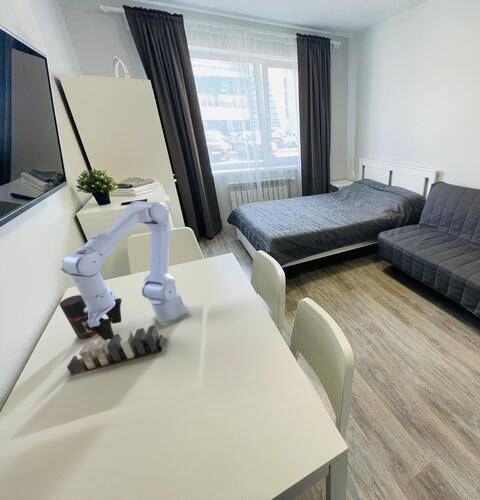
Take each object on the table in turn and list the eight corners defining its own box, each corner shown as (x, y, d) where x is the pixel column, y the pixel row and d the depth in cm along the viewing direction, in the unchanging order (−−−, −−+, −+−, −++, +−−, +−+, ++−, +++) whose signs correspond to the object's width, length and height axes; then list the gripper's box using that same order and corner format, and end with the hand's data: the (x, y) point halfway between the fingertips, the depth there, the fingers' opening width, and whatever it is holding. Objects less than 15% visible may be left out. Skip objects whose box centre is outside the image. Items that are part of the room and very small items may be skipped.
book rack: (166, 339, 92) (159, 322, 88) (162, 354, 86) (155, 336, 83) (80, 361, 84) (69, 343, 81) (70, 379, 78) (58, 360, 75)
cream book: (138, 346, 88) (131, 330, 85) (134, 357, 84) (126, 341, 81) (131, 347, 87) (124, 332, 85) (127, 359, 83) (119, 343, 80)
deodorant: (88, 342, 91) (69, 306, 85) (74, 340, 92) (54, 304, 86) (105, 330, 96) (87, 296, 90) (91, 328, 98) (73, 294, 91)
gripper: (88, 283, 80) (105, 319, 86) (65, 311, 68) (87, 351, 74) (116, 278, 83) (131, 313, 89) (98, 304, 70) (117, 343, 76)
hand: (113, 330), depth 81 cm, fingers open, 7 cm apart
